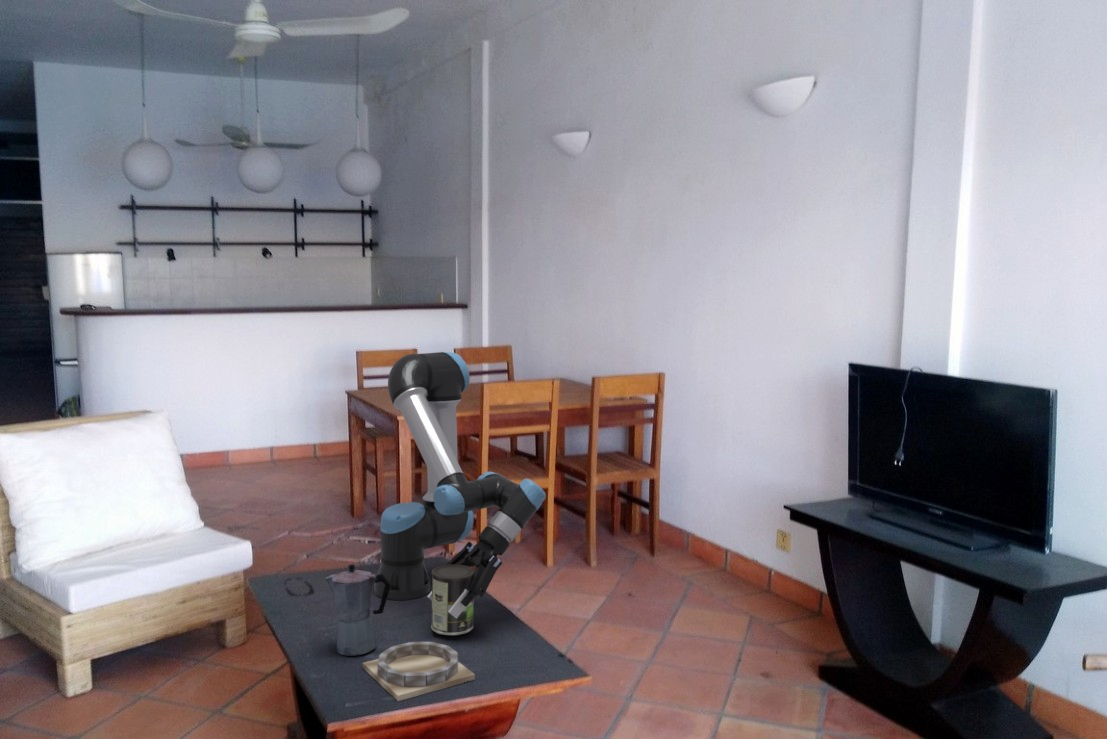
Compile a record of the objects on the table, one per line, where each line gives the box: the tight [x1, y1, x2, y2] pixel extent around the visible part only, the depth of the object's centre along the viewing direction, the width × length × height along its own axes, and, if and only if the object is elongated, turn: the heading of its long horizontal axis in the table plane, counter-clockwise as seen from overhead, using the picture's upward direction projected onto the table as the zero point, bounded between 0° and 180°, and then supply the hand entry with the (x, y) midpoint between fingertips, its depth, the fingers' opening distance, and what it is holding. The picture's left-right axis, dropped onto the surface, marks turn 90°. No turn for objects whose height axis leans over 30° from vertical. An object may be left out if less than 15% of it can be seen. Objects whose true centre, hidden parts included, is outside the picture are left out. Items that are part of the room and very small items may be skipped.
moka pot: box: [324, 563, 390, 657], centre depth 203 cm, size 10×15×20 cm, turn 88°
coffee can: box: [430, 564, 475, 636], centre depth 214 cm, size 10×10×14 cm
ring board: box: [362, 641, 476, 702], centre depth 192 cm, size 18×18×4 cm
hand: (441, 607), depth 212 cm, fingers closed on coffee can, 10 cm apart
